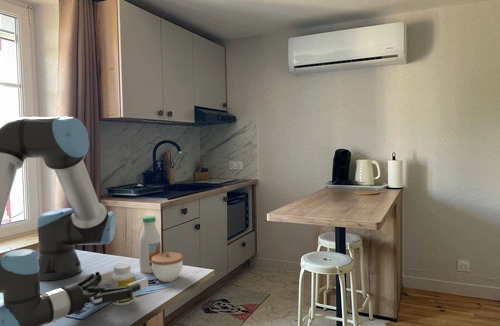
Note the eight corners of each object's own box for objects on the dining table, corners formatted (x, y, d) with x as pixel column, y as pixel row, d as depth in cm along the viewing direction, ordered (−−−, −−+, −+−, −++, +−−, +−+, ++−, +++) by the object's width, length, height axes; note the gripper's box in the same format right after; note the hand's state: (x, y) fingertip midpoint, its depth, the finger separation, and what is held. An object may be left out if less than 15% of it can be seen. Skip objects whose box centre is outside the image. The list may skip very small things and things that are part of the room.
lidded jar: (176, 285, 124) (175, 257, 124) (146, 283, 126) (145, 256, 126) (187, 274, 135) (187, 248, 134) (160, 272, 137) (159, 247, 136)
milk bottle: (141, 274, 134) (139, 220, 133) (138, 268, 141) (136, 216, 140) (163, 271, 137) (161, 217, 136) (159, 265, 144) (157, 214, 143)
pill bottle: (138, 298, 115) (137, 262, 114) (127, 307, 109) (125, 269, 108) (120, 296, 116) (118, 261, 115) (108, 305, 110) (106, 268, 109)
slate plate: (78, 289, 122) (77, 284, 122) (118, 275, 134) (118, 271, 134) (103, 301, 113) (103, 296, 113) (144, 285, 125) (144, 280, 125)
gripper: (42, 303, 105) (110, 280, 122) (90, 330, 90) (160, 299, 107) (41, 277, 105) (109, 257, 122) (88, 299, 90) (159, 273, 107)
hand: (133, 277), depth 114 cm, fingers open, 13 cm apart
